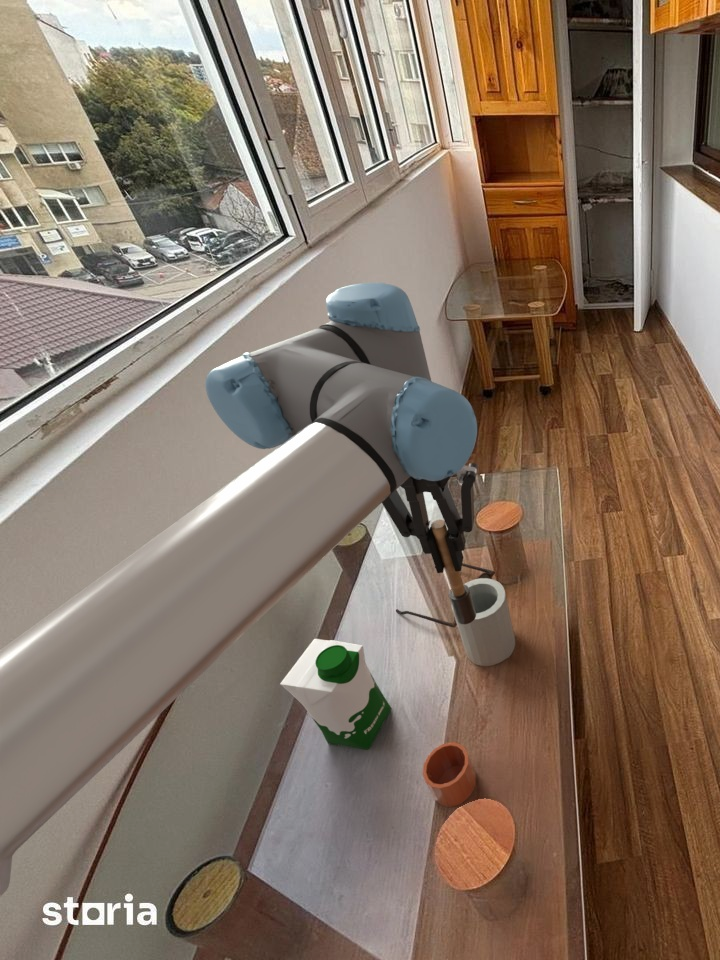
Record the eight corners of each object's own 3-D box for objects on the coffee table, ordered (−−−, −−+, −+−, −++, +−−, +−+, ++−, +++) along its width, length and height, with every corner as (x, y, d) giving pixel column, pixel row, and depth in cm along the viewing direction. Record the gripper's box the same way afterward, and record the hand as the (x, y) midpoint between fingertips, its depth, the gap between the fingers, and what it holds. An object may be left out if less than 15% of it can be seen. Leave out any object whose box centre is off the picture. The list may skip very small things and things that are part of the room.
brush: (465, 627, 79) (436, 534, 67) (452, 618, 80) (421, 526, 68) (480, 614, 81) (454, 521, 69) (467, 605, 82) (439, 513, 70)
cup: (491, 676, 91) (477, 628, 83) (455, 652, 95) (439, 604, 86) (525, 640, 97) (516, 591, 89) (490, 619, 101) (479, 570, 93)
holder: (453, 817, 74) (443, 797, 69) (424, 792, 76) (413, 771, 72) (485, 778, 78) (477, 757, 73) (456, 755, 80) (447, 734, 76)
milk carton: (371, 757, 80) (327, 688, 68) (318, 748, 81) (264, 678, 68) (400, 704, 87) (364, 633, 74) (350, 697, 88) (307, 625, 75)
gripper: (477, 406, 62) (505, 542, 77) (350, 412, 61) (402, 550, 75) (469, 439, 57) (501, 580, 71) (328, 447, 55) (390, 590, 69)
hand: (450, 564), depth 73 cm, fingers closed on brush, 2 cm apart
